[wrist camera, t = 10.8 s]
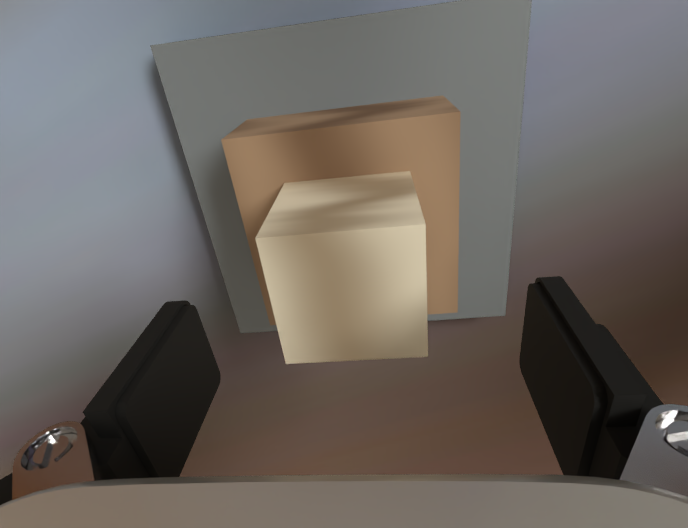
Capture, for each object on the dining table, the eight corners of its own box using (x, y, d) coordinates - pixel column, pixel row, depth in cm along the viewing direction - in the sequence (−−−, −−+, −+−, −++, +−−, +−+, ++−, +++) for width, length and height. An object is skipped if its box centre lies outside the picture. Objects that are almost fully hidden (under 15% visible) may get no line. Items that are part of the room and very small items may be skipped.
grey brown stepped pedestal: (520, -8, 18) (576, -20, 13) (498, 300, 25) (528, 364, 21) (164, 44, 19) (98, 50, 15) (246, 318, 27) (220, 380, 22)
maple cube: (410, 171, 16) (425, 223, 12) (414, 279, 19) (428, 356, 14) (284, 183, 17) (255, 238, 12) (304, 287, 19) (285, 364, 15)
